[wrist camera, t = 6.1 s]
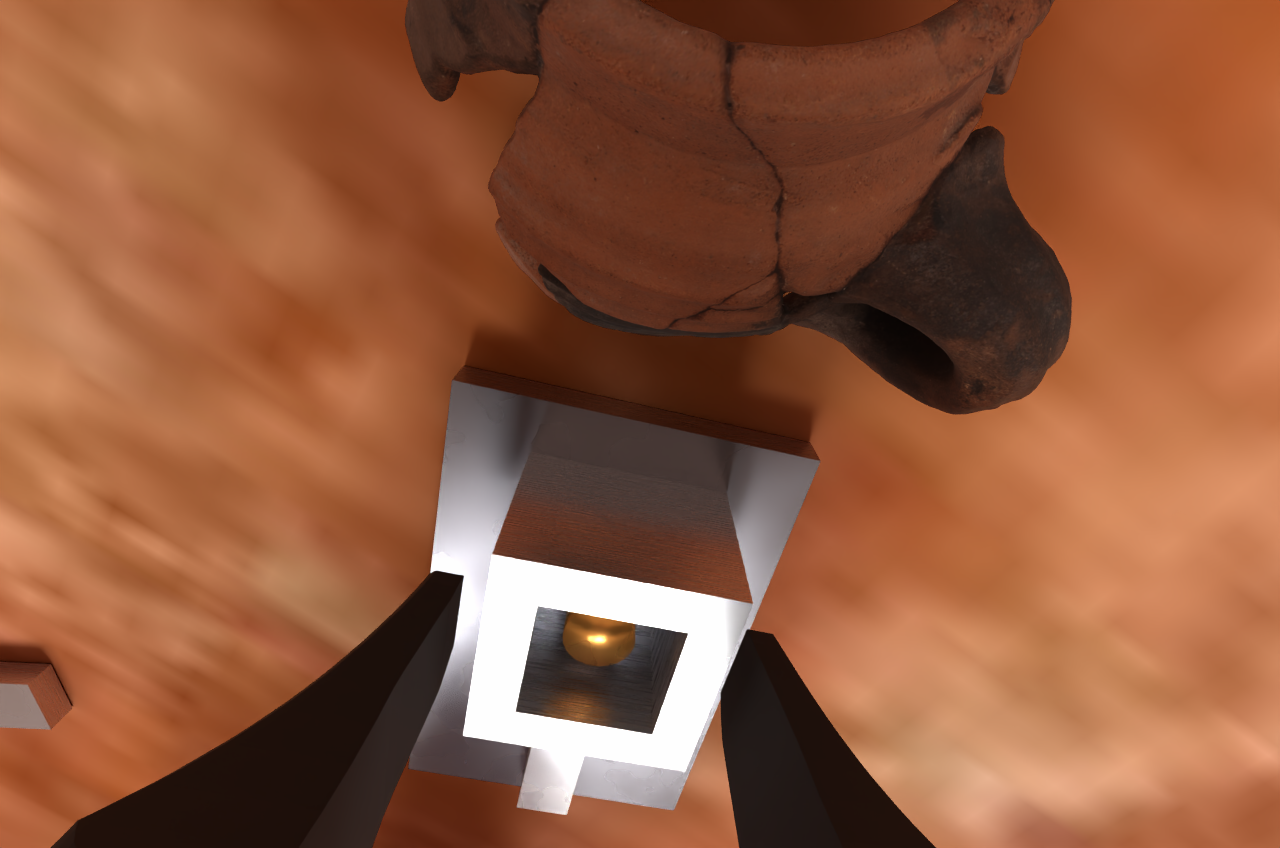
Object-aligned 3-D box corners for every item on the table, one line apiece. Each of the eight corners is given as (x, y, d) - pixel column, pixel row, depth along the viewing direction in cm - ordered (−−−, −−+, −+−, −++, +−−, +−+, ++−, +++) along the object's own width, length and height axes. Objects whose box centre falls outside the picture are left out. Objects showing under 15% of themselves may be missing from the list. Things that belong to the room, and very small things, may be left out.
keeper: (672, 782, 21) (678, 912, 18) (418, 741, 20) (370, 869, 17) (809, 442, 15) (861, 533, 12) (464, 365, 15) (404, 438, 11)
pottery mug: (394, 205, 14) (98, -207, 5) (651, -71, 15) (729, -753, 7) (801, 536, 14) (1116, 623, 6) (1025, 236, 15) (1558, -60, 7)
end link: (675, 638, 17) (684, 771, 13) (502, 606, 17) (463, 735, 13) (726, 493, 15) (753, 603, 11) (530, 451, 14) (491, 554, 11)
